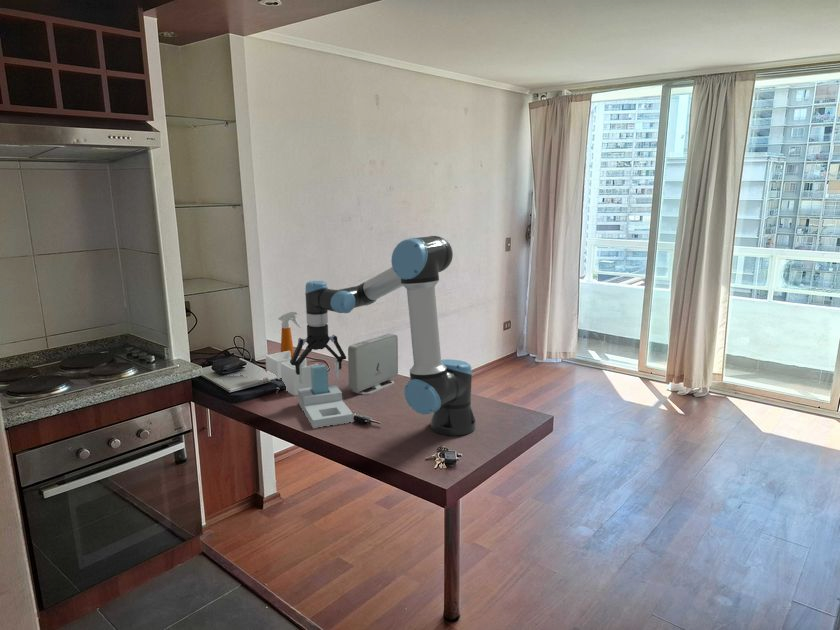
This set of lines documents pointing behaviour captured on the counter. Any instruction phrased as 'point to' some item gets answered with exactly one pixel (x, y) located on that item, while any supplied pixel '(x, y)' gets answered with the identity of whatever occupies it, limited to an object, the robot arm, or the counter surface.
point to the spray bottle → (287, 331)
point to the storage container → (289, 371)
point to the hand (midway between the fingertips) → (319, 380)
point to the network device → (373, 363)
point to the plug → (319, 379)
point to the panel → (324, 407)
